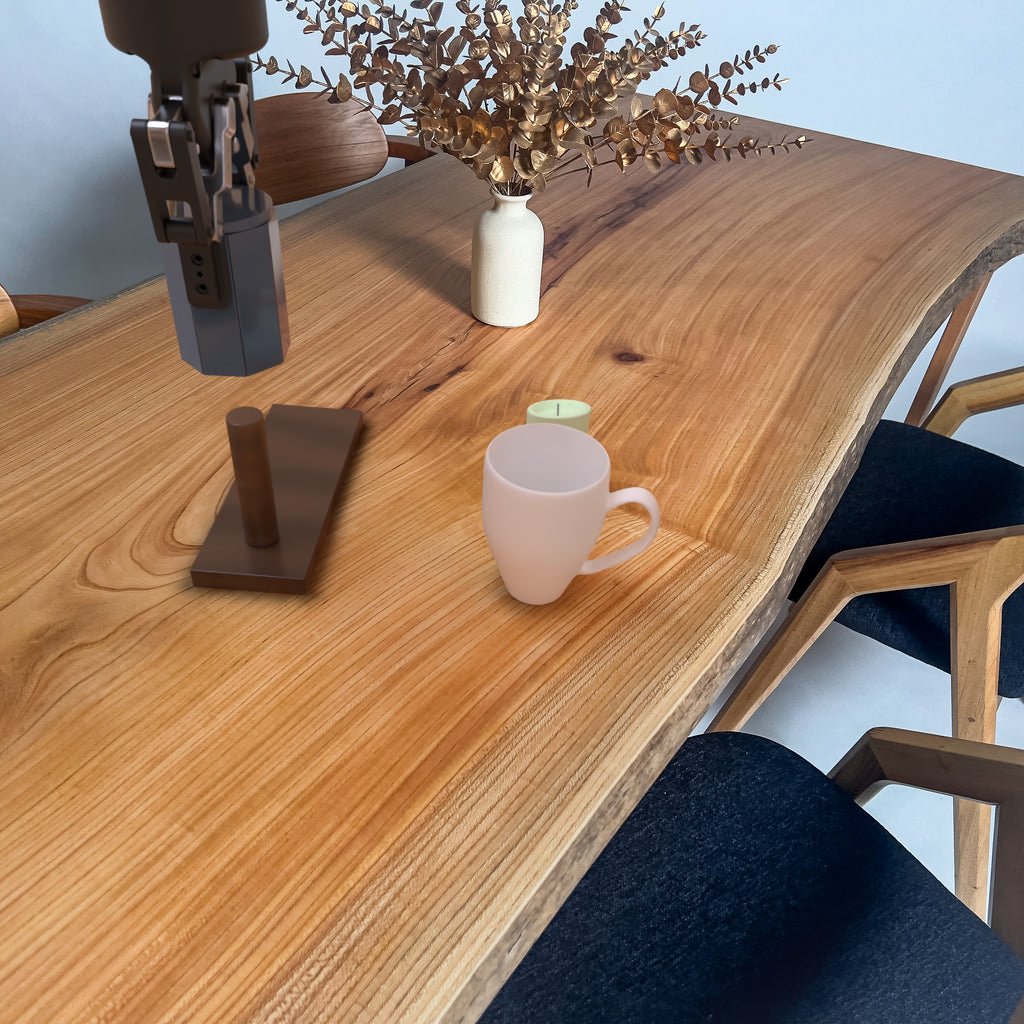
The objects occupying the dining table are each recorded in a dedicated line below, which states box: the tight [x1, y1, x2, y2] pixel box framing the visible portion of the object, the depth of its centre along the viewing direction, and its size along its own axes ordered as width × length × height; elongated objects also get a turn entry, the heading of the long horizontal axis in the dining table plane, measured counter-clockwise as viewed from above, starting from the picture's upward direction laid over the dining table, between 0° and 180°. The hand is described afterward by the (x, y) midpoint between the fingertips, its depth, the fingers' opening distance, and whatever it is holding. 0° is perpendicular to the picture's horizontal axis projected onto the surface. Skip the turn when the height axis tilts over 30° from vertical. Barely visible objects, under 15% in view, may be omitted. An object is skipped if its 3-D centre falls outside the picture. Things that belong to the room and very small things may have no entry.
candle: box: [525, 398, 592, 435], centre depth 73 cm, size 5×5×8 cm
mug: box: [481, 423, 661, 606], centre depth 62 cm, size 12×8×11 cm
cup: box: [158, 184, 292, 378], centre depth 51 cm, size 6×6×9 cm
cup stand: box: [189, 403, 364, 595], centre depth 68 cm, size 22×8×12 cm, turn 177°
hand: (225, 278), depth 51 cm, fingers closed on cup, 6 cm apart
